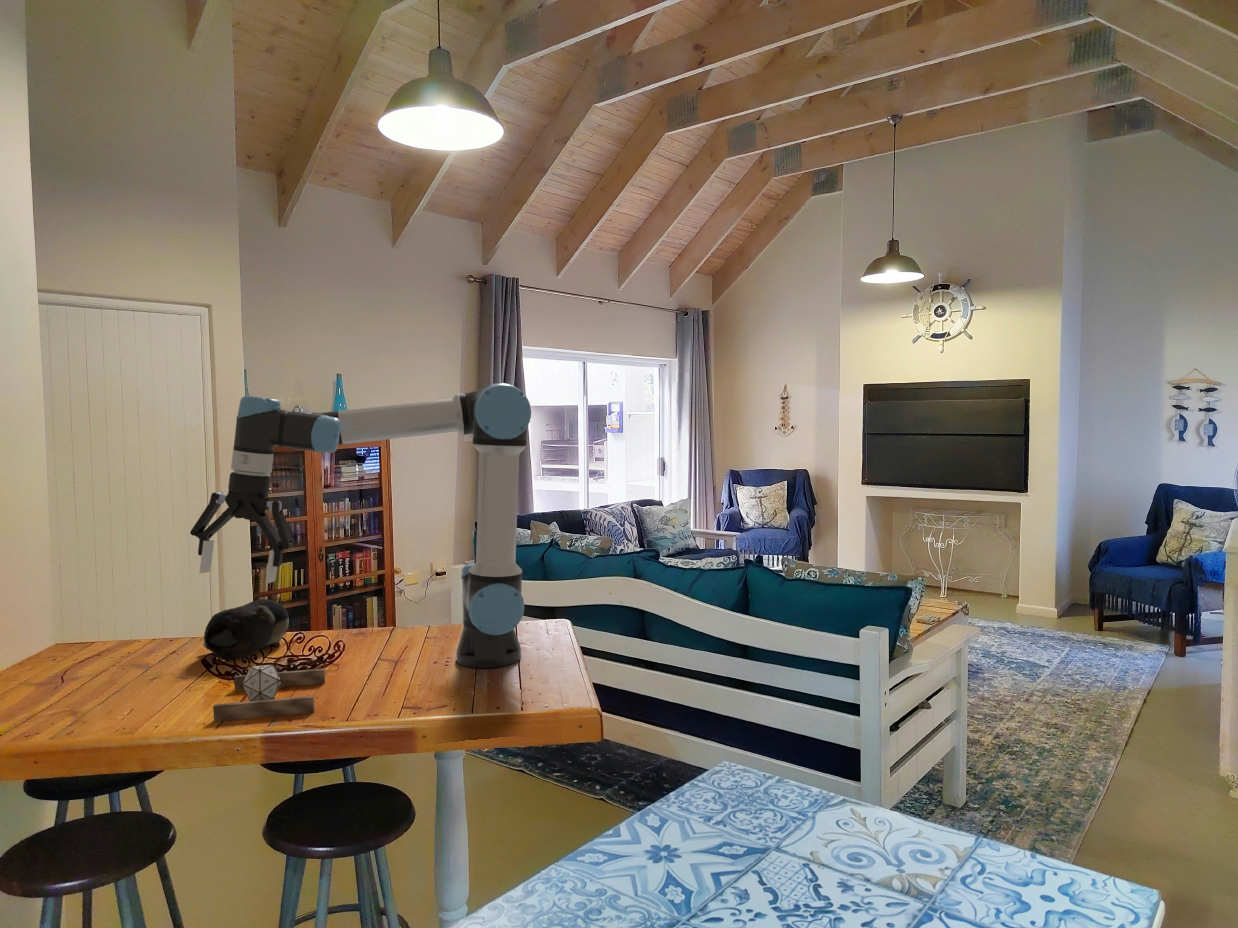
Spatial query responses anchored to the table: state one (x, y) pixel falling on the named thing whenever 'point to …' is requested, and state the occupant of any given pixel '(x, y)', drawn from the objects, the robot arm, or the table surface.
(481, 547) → the robot arm
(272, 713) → the walnut channel
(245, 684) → the game die
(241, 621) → the black rounded lump
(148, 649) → the table surface
